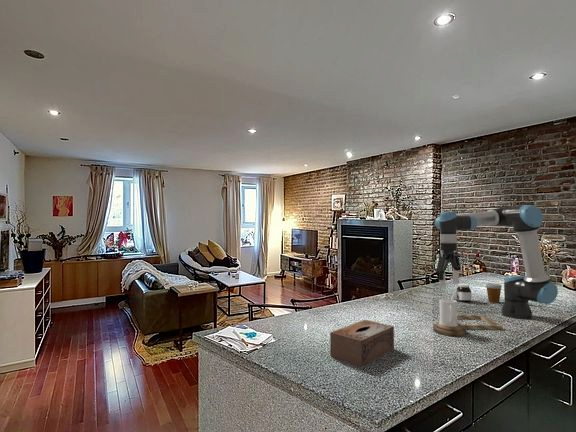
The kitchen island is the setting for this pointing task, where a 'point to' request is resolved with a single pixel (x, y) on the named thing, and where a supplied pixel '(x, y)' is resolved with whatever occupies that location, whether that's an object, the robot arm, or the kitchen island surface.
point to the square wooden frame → (492, 326)
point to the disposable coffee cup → (493, 292)
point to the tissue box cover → (361, 342)
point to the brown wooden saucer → (449, 330)
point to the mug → (448, 312)
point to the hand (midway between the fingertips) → (449, 285)
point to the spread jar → (462, 293)
